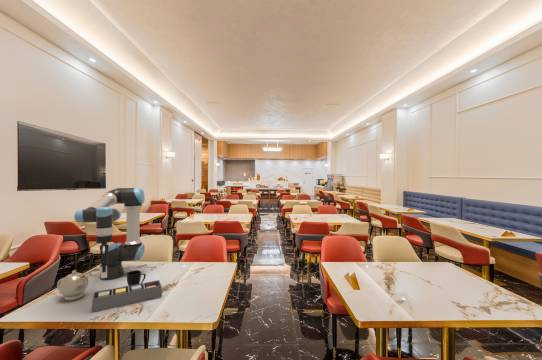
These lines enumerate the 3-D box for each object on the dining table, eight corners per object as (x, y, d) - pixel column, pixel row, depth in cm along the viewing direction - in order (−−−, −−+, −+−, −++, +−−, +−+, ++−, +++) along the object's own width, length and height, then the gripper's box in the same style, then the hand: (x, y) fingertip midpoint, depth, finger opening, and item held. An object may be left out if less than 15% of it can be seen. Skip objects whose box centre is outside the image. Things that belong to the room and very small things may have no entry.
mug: (140, 290, 160) (141, 275, 160) (123, 289, 161) (123, 274, 161) (148, 285, 168) (148, 270, 168) (132, 284, 169) (132, 270, 169)
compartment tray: (93, 304, 141) (93, 292, 141) (159, 290, 159) (159, 280, 159) (92, 312, 133) (92, 299, 133) (161, 297, 150) (161, 285, 150)
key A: (98, 299, 140) (98, 292, 140) (109, 297, 143) (109, 290, 143) (98, 303, 136) (98, 296, 136) (109, 300, 139) (109, 294, 139)
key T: (115, 296, 144) (115, 289, 144) (125, 294, 147) (125, 287, 147) (115, 299, 140) (115, 292, 140) (125, 297, 143) (125, 290, 143)
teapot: (94, 293, 156) (94, 266, 156) (76, 303, 142) (76, 274, 142) (67, 292, 157) (67, 266, 157) (46, 302, 143) (46, 274, 143)
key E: (146, 293, 153) (146, 286, 153) (155, 291, 155) (155, 285, 155) (147, 296, 148) (147, 289, 148) (156, 294, 151) (156, 288, 151)
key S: (131, 292, 149) (131, 286, 149) (140, 290, 151) (140, 284, 151) (131, 296, 144) (131, 289, 144) (141, 294, 147) (141, 287, 147)
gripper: (97, 233, 143) (96, 275, 143) (95, 238, 132) (94, 282, 132) (112, 232, 147) (112, 272, 147) (111, 236, 136) (111, 279, 136)
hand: (104, 277), depth 139 cm, fingers closed
